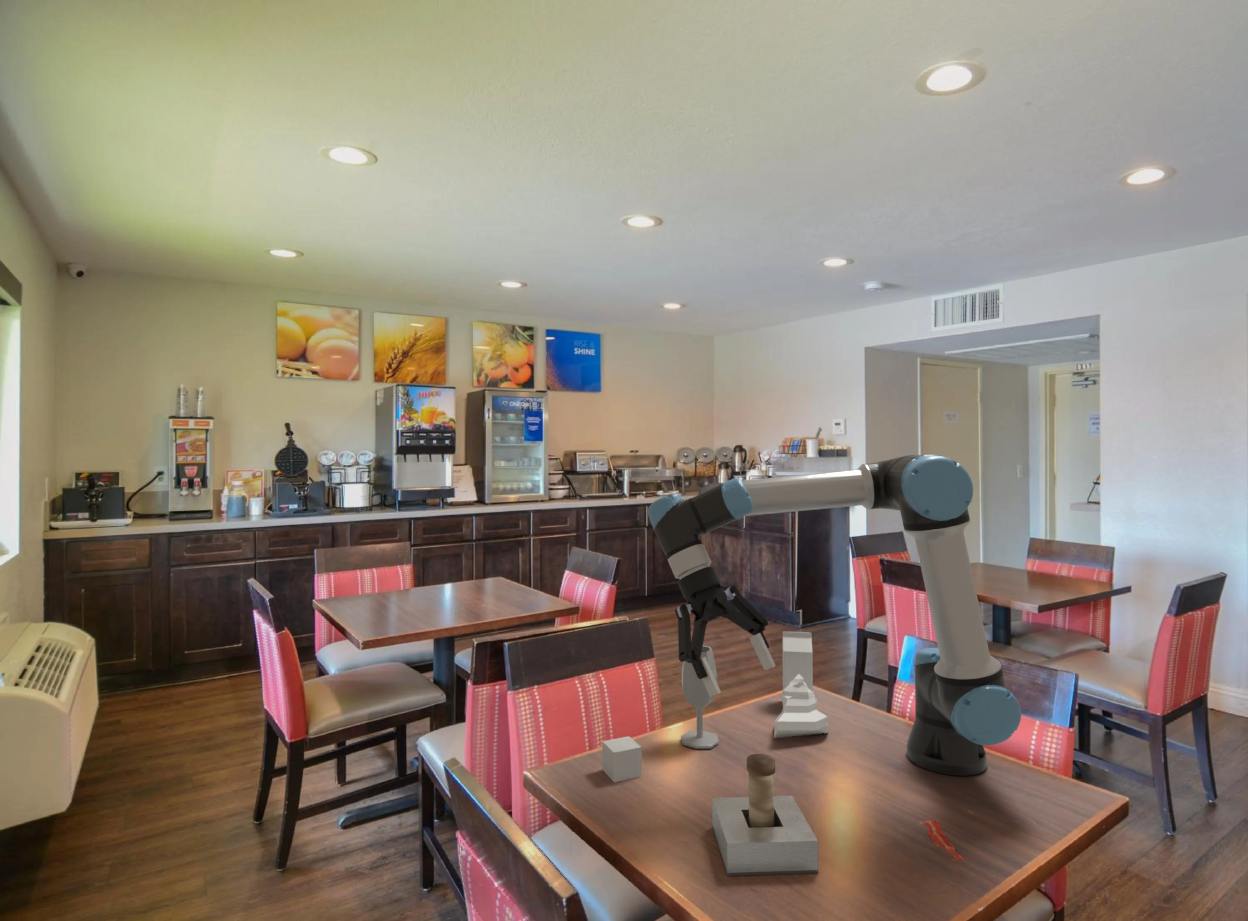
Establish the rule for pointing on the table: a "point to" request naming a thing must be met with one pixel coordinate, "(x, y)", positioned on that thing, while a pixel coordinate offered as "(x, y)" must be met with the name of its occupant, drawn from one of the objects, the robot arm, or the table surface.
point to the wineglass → (698, 702)
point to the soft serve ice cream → (799, 712)
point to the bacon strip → (941, 838)
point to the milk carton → (797, 657)
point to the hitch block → (764, 839)
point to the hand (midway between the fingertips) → (743, 681)
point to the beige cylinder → (761, 790)
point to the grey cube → (621, 759)
